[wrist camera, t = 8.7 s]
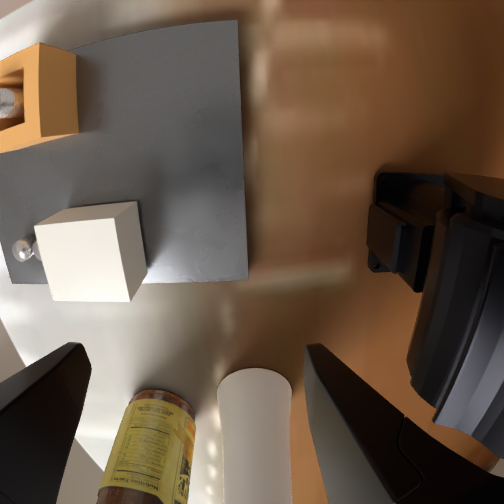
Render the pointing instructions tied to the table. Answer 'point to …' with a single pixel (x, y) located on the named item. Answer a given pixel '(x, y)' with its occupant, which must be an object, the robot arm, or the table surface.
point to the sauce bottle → (151, 452)
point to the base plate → (142, 154)
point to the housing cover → (93, 253)
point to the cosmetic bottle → (255, 437)
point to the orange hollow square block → (40, 96)
